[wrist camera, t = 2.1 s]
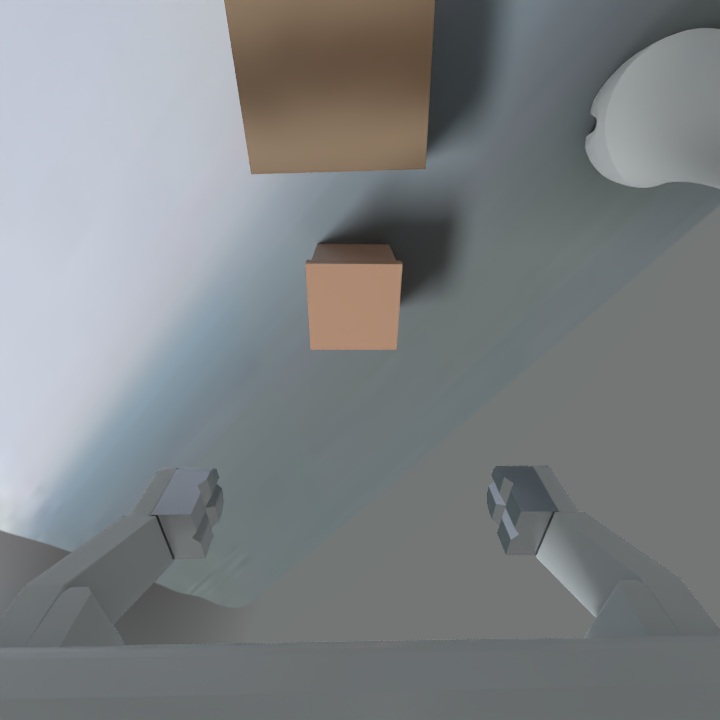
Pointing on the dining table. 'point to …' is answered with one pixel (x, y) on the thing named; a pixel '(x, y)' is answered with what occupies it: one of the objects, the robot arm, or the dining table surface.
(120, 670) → the robot arm
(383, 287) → the brown cardboard box
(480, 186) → the dining table surface
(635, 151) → the water bottle
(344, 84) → the walnut box
